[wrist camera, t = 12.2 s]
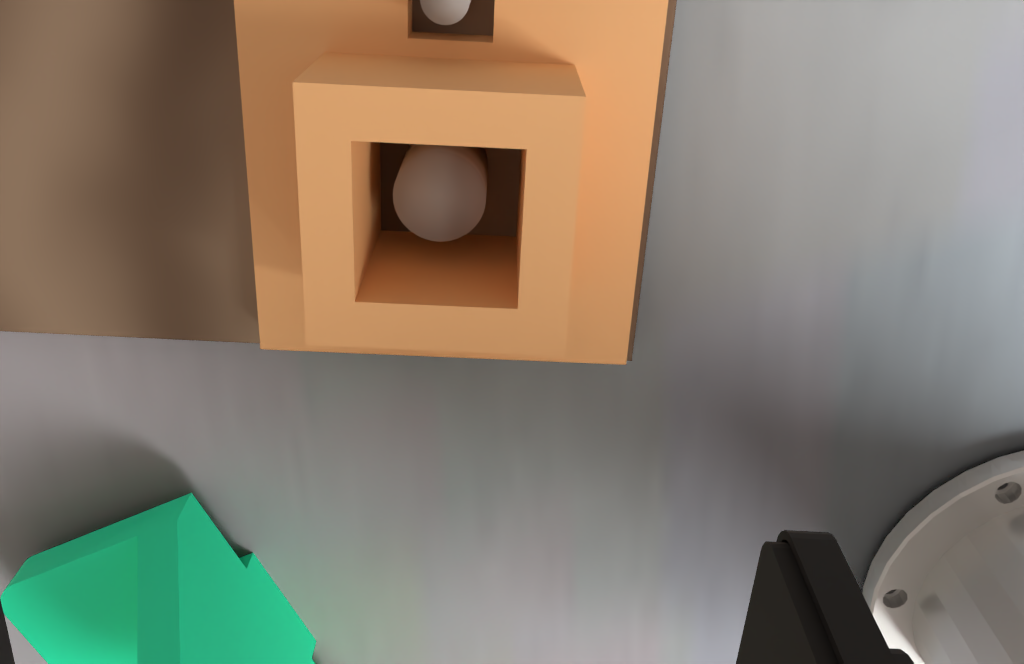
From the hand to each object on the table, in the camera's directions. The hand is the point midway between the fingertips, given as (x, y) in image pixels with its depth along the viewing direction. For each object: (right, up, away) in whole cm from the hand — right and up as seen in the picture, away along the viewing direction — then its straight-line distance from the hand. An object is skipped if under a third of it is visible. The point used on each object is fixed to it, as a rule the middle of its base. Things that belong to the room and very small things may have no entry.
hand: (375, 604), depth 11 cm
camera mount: (-10, -8, +25) cm, 28 cm away
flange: (0, +8, +15) cm, 17 cm away
